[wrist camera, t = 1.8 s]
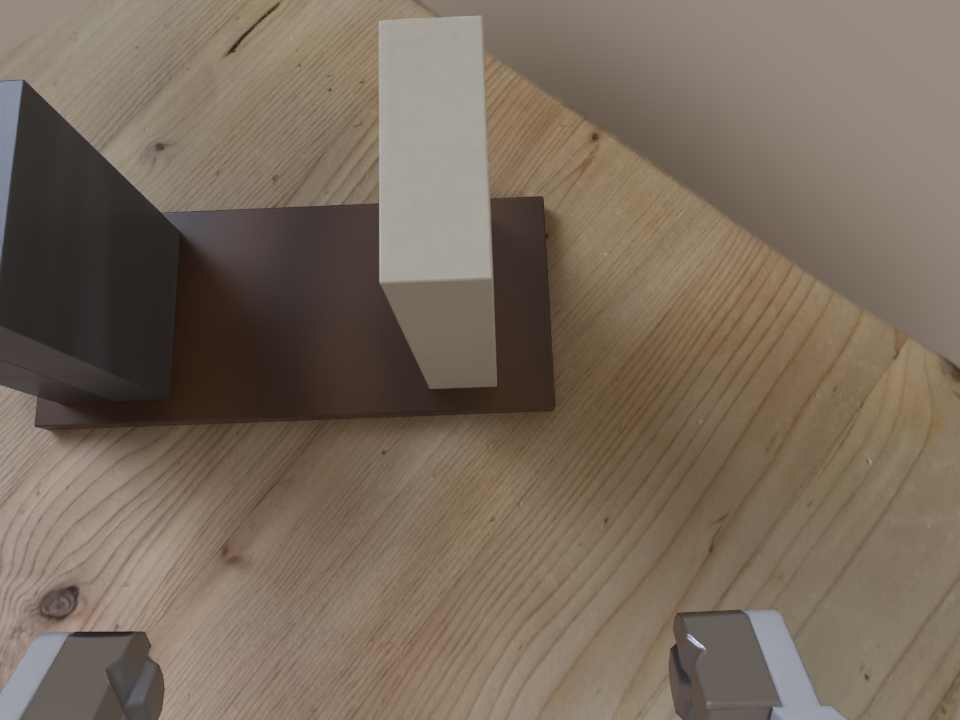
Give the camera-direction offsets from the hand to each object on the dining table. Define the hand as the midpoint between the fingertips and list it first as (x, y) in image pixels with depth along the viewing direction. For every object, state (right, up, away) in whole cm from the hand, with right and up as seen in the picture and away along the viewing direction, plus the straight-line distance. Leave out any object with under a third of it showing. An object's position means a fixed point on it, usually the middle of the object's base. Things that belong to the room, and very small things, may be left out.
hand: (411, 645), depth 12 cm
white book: (0, +7, +23) cm, 24 cm away
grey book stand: (-7, +7, +24) cm, 26 cm away
